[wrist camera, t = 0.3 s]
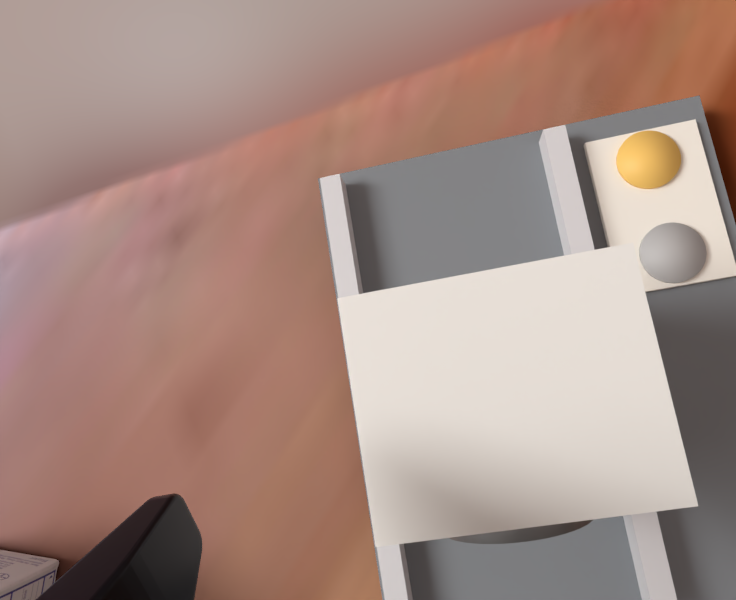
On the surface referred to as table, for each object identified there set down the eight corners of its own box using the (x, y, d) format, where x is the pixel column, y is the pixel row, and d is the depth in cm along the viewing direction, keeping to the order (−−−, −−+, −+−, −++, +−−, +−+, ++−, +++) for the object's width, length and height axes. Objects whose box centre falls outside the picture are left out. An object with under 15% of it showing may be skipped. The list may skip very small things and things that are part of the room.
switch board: (813, 584, 20) (867, 615, 17) (394, 628, 22) (385, 663, 19) (683, 113, 23) (713, 79, 20) (326, 190, 25) (310, 167, 22)
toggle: (588, 474, 20) (712, 563, 10) (420, 497, 21) (384, 601, 11) (551, 308, 21) (632, 242, 11) (392, 336, 22) (337, 298, 12)
